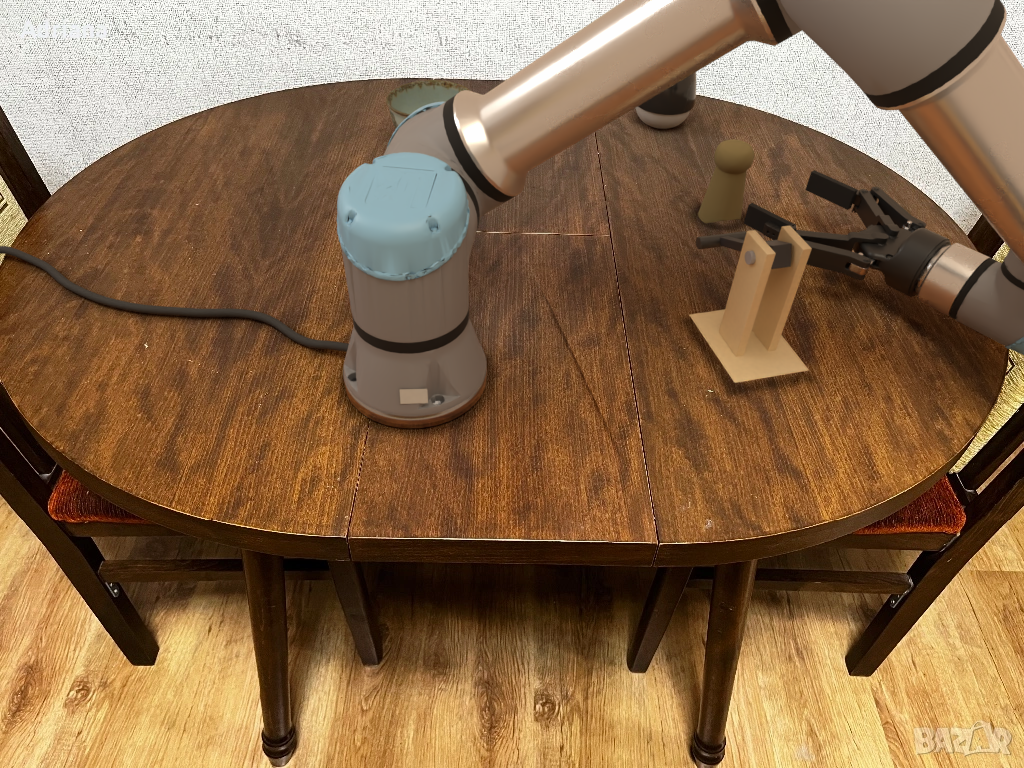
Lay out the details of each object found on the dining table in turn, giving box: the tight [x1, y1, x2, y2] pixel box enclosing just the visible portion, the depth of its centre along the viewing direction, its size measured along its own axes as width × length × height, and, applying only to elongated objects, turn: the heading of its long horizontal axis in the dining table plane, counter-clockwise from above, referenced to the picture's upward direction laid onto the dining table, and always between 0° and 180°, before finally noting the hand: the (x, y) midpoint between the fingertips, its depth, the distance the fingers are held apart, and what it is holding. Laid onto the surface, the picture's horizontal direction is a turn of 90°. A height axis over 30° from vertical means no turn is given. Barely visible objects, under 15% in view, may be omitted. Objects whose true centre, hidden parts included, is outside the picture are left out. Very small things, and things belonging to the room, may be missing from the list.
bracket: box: [688, 226, 812, 384], centre depth 83 cm, size 12×9×15 cm
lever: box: [695, 230, 792, 269], centre depth 84 cm, size 13×6×2 cm, turn 15°
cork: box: [697, 138, 756, 224], centre depth 105 cm, size 6×6×11 cm
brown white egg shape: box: [635, 72, 697, 130], centre depth 125 cm, size 10×10×15 cm
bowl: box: [385, 79, 472, 129], centre depth 119 cm, size 14×13×8 cm
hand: (779, 195), depth 100 cm, fingers open, 13 cm apart
